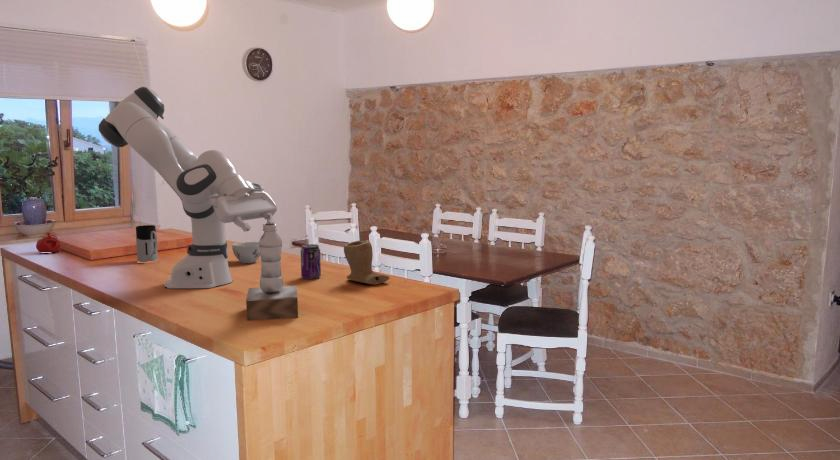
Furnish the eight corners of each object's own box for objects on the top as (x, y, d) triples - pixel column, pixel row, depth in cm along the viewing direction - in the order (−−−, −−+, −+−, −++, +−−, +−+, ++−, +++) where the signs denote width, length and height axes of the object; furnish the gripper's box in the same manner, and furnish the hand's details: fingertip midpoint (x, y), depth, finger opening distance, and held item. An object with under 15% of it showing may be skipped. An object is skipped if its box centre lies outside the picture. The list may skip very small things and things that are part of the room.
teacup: (270, 261, 257) (269, 242, 256) (246, 266, 247) (245, 247, 245) (246, 257, 265) (245, 239, 264) (222, 262, 255) (221, 243, 254)
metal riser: (247, 320, 171) (246, 299, 170) (249, 307, 184) (248, 288, 184) (298, 317, 174) (297, 296, 173) (296, 304, 187) (296, 285, 187)
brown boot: (337, 281, 219) (337, 240, 217) (364, 276, 227) (363, 236, 225) (363, 288, 208) (362, 245, 206) (390, 283, 216) (390, 241, 214)
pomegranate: (31, 254, 275) (29, 234, 274) (48, 250, 285) (46, 231, 284) (51, 255, 274) (48, 234, 272) (67, 250, 283) (65, 231, 282)
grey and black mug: (154, 259, 263) (151, 224, 261) (168, 263, 253) (166, 227, 251) (133, 261, 257) (130, 226, 255) (146, 266, 247) (144, 229, 245)
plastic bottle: (262, 289, 181) (259, 222, 178) (285, 289, 182) (283, 222, 179) (257, 295, 175) (255, 225, 172) (281, 294, 175) (279, 225, 173)
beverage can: (316, 280, 221) (315, 247, 220) (298, 279, 223) (297, 246, 221) (323, 276, 228) (322, 244, 227) (305, 275, 230) (304, 243, 228)
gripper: (211, 188, 174) (237, 225, 170) (265, 184, 191) (289, 217, 187) (202, 203, 177) (227, 239, 173) (256, 198, 194) (279, 230, 190)
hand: (260, 227), depth 180 cm, fingers open, 8 cm apart
